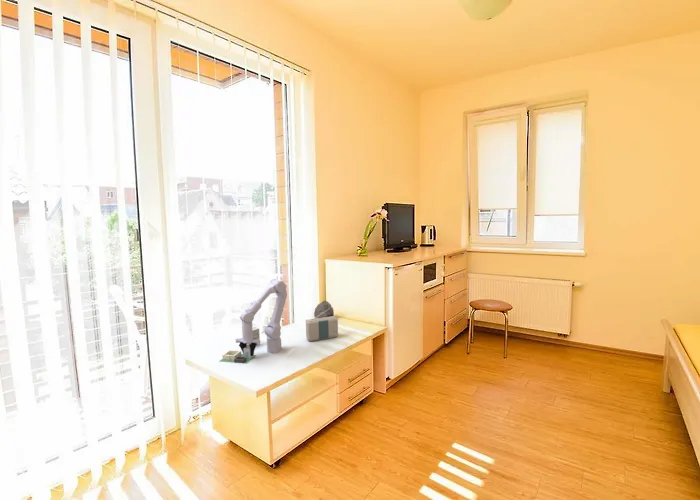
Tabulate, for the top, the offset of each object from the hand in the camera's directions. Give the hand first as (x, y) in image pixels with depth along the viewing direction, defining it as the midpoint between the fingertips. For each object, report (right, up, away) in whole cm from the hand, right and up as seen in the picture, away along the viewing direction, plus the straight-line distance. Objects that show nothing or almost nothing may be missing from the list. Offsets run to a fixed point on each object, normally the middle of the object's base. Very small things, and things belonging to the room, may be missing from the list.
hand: (248, 355), depth 208 cm
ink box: (-3, -1, +19) cm, 19 cm away
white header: (-10, -2, +1) cm, 10 cm away
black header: (-3, -2, -5) cm, 6 cm away
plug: (0, -1, 0) cm, 1 cm away
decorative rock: (+38, +6, +78) cm, 87 cm away
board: (-6, -3, -1) cm, 6 cm away
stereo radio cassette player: (+40, +1, +34) cm, 52 cm away
